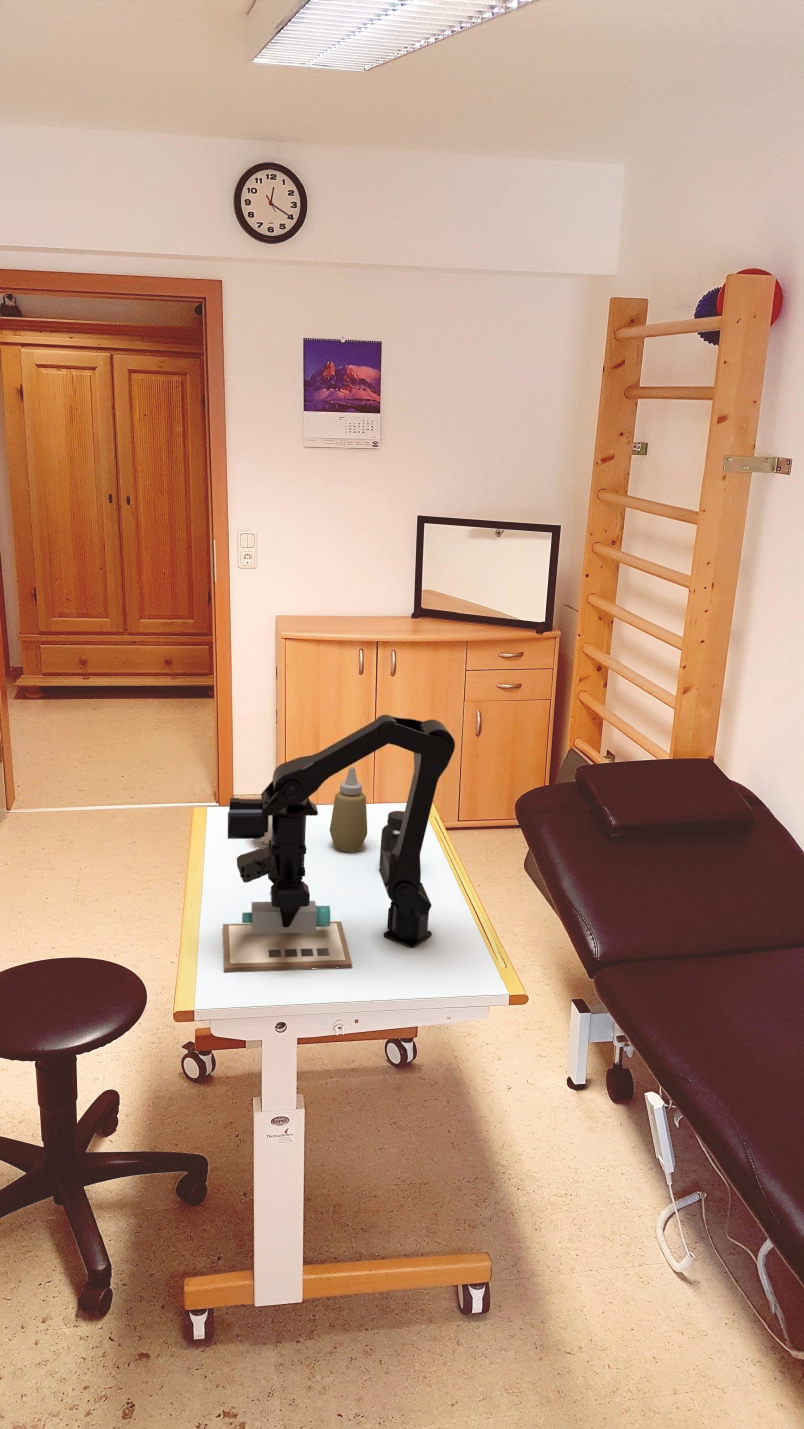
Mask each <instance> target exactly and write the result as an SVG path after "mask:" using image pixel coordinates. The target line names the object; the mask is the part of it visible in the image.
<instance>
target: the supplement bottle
mask: <svg viewBox="0 0 804 1429" xmlns="http://www.w3.org/2000/svg"><path fill="white" fill-rule="evenodd" d="M404 812H405V810H404V811H403V810H394V811H390V812H388V814H387V820H386V821H387V822H386V823H387V824H385V825H384V826H383V827H382V829H381V837H380V849H379V850H380V851H379V862H378V863H379V866H378V867H379V868H380V867H381V866H382V863H383V853H384V851H387V852H392V851H393V849H394V848H395V847H396V845H397V842H398V838H399V834H400V829H401V825H402V821H403V817H404Z"/></svg>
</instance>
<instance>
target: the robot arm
mask: <svg viewBox="0 0 804 1429" xmlns="http://www.w3.org/2000/svg"><path fill="white" fill-rule="evenodd" d="M388 744H389V745H393V746H397V747H400V748H402V749H404V750H407V751H409V752H412V753H413V767H414V768H413V775H412V778H411V783H410V787H409V788H410V789H409V792H408V796H407V800H406V805H405V808H404V817H403V821H402V825H401V829H400V834H399V838H398V842H397V845H396V847H395V848H394V849H393V851H392V852H387V851H384V853H383V863H382V866H381V867H380V866H379V868H378V871H379V874H380V878H381V881H382V882H383V886H384V888H385V891H386V893H387V896H388V898H389V899H390V906H389V908H388V910H387V923H386V925H387V926H386V929H387V930H386V931H385V932H383V937H384V938H387V939H389V940H392V941H395V942H397V943H399V944H402V945H405V946H407V947H408V948H414V947H416V946H417V945H419V944H421V943H423V941H425V940H427V939H428V938H430V937H431V936H432V935H433V932H432V931H430V930H429V929H428V926H429V916H430V911H431V910H430V909H431V908H432V902H431V901H430V899H429V896H428V894H427V891H426V889H425V887H424V884H423V883H422V882H421V880H422V878H421V877H422V875H421V874H422V873H421V872H422V871H421V852H422V848H423V843H424V839H425V835H426V831H427V827H428V822H429V819H430V814H431V809H432V806H433V803H434V802H433V801H434V798H435V793H436V790H437V785H438V781H439V779H440V777H441V776H442V775H443V773H444V772H445V770H446V769H447V768H448V766H449V763H450V761H451V758H452V756H453V754H454V752H455V750H456V749H455V748H456V742H455V738H454V737H453V736H452V734H451V733H450V731H449V730H448V729H447V727H446V726H445V725H444V723H442V722H441V721H439V720H437V719H428V720H427V719H426V720H424V721H422V720H419V719H414V718H407V717H406V718H405V717H396V716H393V715H390V714H381V715H379V716H377V718H376V719H375V720H374V721H371V722H370V723H368V724H367V725H366V724H365V725H364V726H363V727H361V728H360V729H357V730H356V731H354V732H352V733H350V734H349V735H347V736H344V738H342V739H339V740H338V741H337V742H334V743H332V744H331V745H330V746H327V747H326V748H324V749H322V750H320V751H319V752H317V753H314V754H312V755H304V756H300V757H296V758H293V759H291V760H289V761H288V760H287V761H285V762H283V763H281V764H280V765H278V766H277V767H276V768H275V769H274V771H273V773H272V780H271V782H269V783H268V785H267V786H266V787H265V789H263V791H262V792H261V794H260V798H240V797H231V798H229V803H228V804H229V806H228V808H229V809H228V812H227V840H250V839H251V840H252V839H253V840H254V839H255V840H257V839H258V840H259V839H261V837H265V833H268V818H269V815H272V837H271V838H270V840H269V844H267V845H268V846H267V847H266V846H265V847H262V848H258V849H255V850H252V851H248V852H246V853H243V854H240V855H239V856H237V858H236V867H237V870H238V872H239V877H240V878H241V880H242V883H246V884H247V883H250V882H252V881H255V880H257V879H260V878H262V877H264V876H266V875H267V878H268V880H269V881H270V882H271V883H272V885H271V886H270V892H269V896H270V902H271V905H272V906H273V907H280V913H281V918H282V924H283V927H289V926H290V925H291V923H292V921H293V919H294V917H295V916H296V914H297V912H298V910H299V908H300V907H306V906H308V905H309V903H310V901H311V900H310V897H311V894H310V889H309V886H308V884H307V883H305V882H304V880H303V879H304V878H303V877H306V867H305V855H306V854H307V846H306V829H307V828H306V827H307V825H306V824H307V816H308V817H309V816H310V817H311V816H318V815H319V810H318V808H317V805H316V804H315V803H314V802H313V801H311V799H310V797H311V796H312V795H314V793H315V792H317V791H318V789H319V788H320V787H321V786H322V785H323V784H324V783H325V781H327V780H328V779H329V778H331V777H333V776H334V775H335V774H336V775H337V773H339V772H341V771H343V770H345V769H346V768H348V767H351V765H353V764H355V763H356V762H359V761H360V760H362V759H364V758H366V757H367V756H369V755H370V754H372V753H375V752H376V751H378V750H380V749H382V748H383V747H385V746H387V745H388Z"/></svg>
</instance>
